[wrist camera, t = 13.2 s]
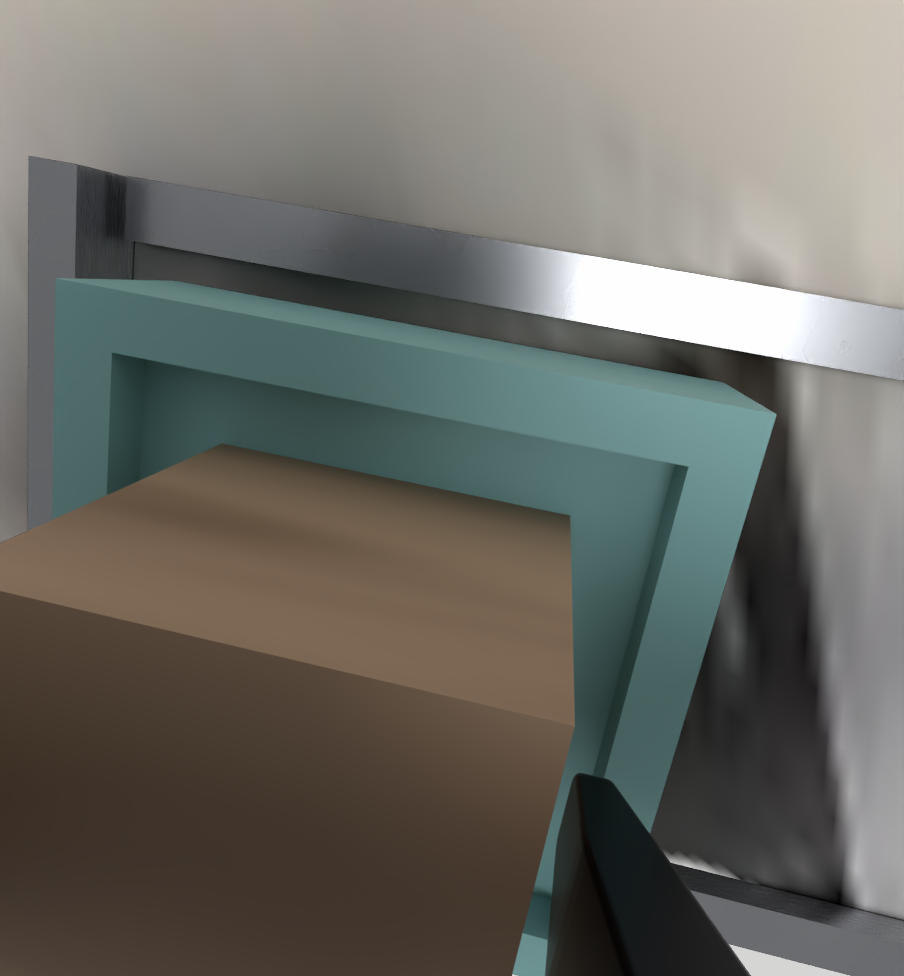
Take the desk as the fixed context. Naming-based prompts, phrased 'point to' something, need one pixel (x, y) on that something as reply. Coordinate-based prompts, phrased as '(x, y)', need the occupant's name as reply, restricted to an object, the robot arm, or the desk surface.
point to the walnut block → (279, 725)
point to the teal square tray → (447, 472)
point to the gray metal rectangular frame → (489, 281)
